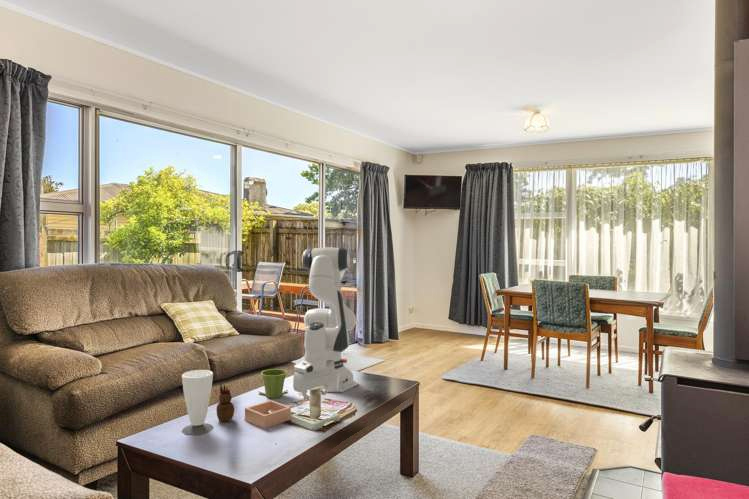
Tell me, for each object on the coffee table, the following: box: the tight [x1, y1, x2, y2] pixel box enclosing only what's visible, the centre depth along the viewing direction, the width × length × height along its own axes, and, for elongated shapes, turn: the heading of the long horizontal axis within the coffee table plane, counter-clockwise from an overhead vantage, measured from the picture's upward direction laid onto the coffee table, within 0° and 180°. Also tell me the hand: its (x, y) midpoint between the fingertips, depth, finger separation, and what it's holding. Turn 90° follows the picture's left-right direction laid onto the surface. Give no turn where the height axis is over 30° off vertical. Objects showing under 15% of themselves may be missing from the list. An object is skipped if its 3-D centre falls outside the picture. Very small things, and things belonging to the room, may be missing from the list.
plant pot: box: [260, 368, 288, 399], centre depth 231 cm, size 12×12×11 cm
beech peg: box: [309, 388, 322, 419], centre depth 200 cm, size 4×4×12 cm
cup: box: [181, 369, 214, 436], centre depth 191 cm, size 12×12×22 cm
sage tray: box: [289, 407, 341, 431], centre depth 201 cm, size 14×14×2 cm
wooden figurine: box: [216, 383, 235, 423], centre depth 200 cm, size 7×6×15 cm
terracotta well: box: [244, 399, 292, 429], centre depth 201 cm, size 13×13×5 cm
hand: (315, 397), depth 201 cm, fingers open, 8 cm apart
